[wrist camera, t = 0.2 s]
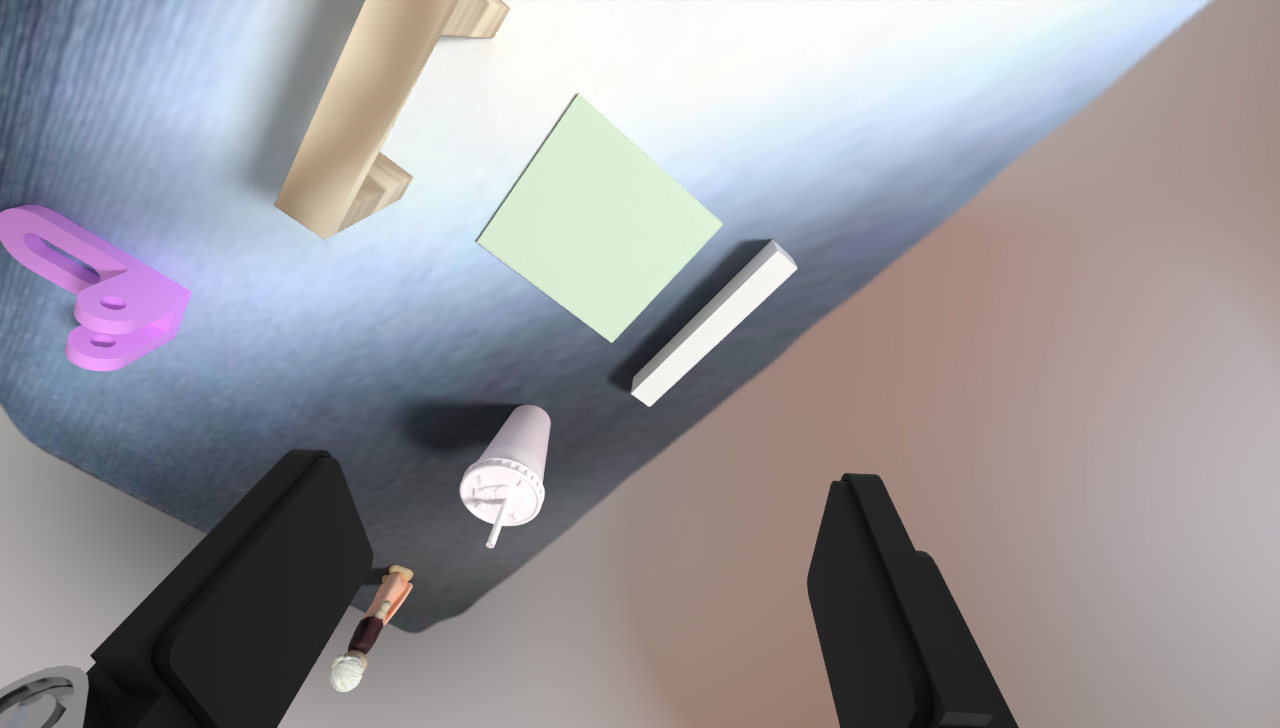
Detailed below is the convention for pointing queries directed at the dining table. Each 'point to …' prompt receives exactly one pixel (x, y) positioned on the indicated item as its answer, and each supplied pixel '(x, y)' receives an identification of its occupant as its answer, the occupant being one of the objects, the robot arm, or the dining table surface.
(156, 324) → the bracket
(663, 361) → the wall
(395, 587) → the grandmother figurine
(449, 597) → the dining table surface
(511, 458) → the smoothie
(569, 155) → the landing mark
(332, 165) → the bridge
